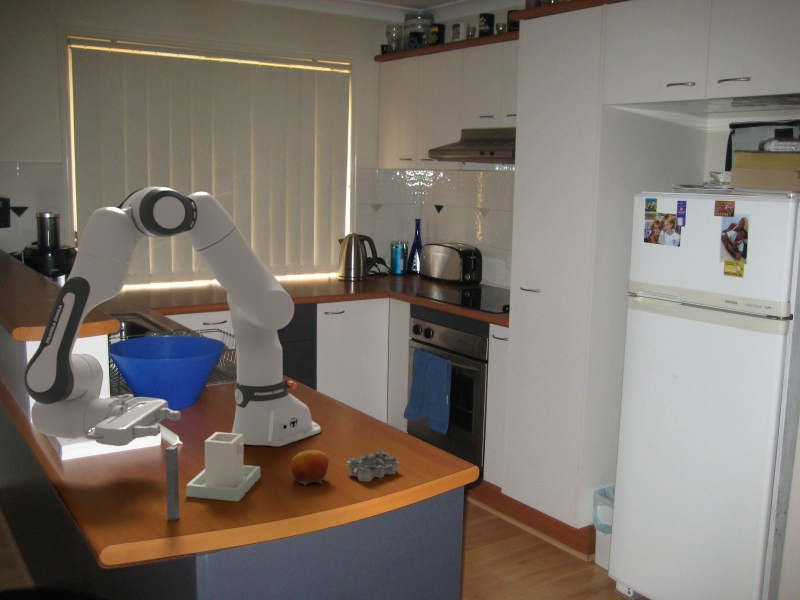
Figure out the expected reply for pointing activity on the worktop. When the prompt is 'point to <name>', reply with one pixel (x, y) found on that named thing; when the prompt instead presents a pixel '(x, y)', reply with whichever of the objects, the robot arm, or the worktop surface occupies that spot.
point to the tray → (223, 493)
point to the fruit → (309, 466)
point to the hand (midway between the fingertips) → (169, 423)
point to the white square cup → (224, 460)
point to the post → (172, 483)
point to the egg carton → (372, 466)
